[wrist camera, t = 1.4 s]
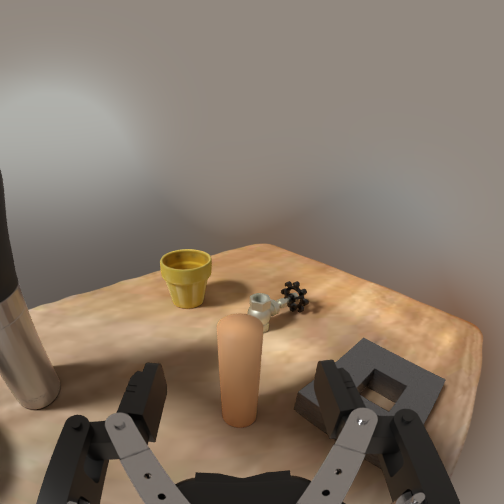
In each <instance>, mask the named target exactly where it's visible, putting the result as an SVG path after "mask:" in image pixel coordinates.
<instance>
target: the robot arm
mask: <svg viewBox="0 0 504 504" xmlns="http://www.w3.org/2000/svg"><path fill="white" fill-rule="evenodd" d="M0 375H1V376H2V378H3V380H4V381H5V383H6V384H7V386H8V387H9V389H10V390H11V392H12V393H13V395H14V396H15V398H16V399H17V400H18V402H19V403H20V404H21V405H22V406H24V407H25V408H28V409H40V408H43V407H46V406H47V405H49V404H50V403H51V402H52V401H54V399H55V398H56V397H57V395H58V393H59V390H60V380H59V377H58V375H57V374H56V372H55V370H54V368H53V366H52V364H51V362H50V360H49V358H48V356H47V354H46V351H45V349H44V347H43V345H42V343H41V341H40V338H39V336H38V334H37V331H36V329H35V326H34V324H33V322H32V319H31V316H30V314H29V311H28V308H27V306H26V303H25V300H24V297H23V294H22V291H21V288H20V285H19V282H18V278H17V275H16V271H15V266H14V260H13V255H12V250H11V245H10V240H9V234H8V228H7V219H6V210H5V198H4V186H3V179H2V174H1V170H0ZM314 391H315V395H316V398H317V401H318V404H319V407H320V410H321V413H322V416H323V420H324V423H325V426H326V429H327V432H328V435H329V438H330V439H333V438H337V441H336V443H335V444H334V445H333V447H332V448H331V450H330V452H329V454H328V455H327V457H326V459H325V461H324V462H323V464H322V466H321V467H320V469H319V470H318V472H317V474H316V475H315V477H314V478H313V480H312V481H310V480H308V479H305V478H302V477H298V476H291V475H290V470H288V471H278V472H266V473H263V474H259V475H255V476H251V477H247V478H238V477H233V476H228V475H223V474H219V473H197V472H196V475H195V478H190V479H186V480H183V481H181V482H179V483H177V484H174V483H173V481H172V480H171V479H170V477H169V476H168V475H167V473H166V472H165V470H164V469H163V467H162V466H161V465H160V463H159V462H158V460H157V459H156V457H155V456H154V454H153V453H152V451H151V450H150V448H149V447H148V446H147V445H148V441H149V442H156V437H157V433H158V428H159V424H160V420H161V416H162V411H163V407H164V403H165V399H166V395H167V384H166V380H165V377H164V373H163V369H162V365H161V364H158V363H146V364H145V367H144V369H143V372H140V371H137V372H136V373H135V374H134V375H133V376H132V377H131V378H130V381H129V383H128V386H127V388H126V392H125V393H124V395H123V398H122V400H121V403H120V405H119V408H118V410H117V413H114V414H112V415H110V416H109V417H108V418H107V419H106V421H98V422H89V421H88V419H87V418H86V417H84V416H82V415H74V416H71V417H70V418H68V419H67V420H66V422H65V424H64V427H63V429H62V432H61V434H60V436H59V439H58V441H57V444H56V447H55V449H54V452H53V454H52V457H51V460H50V463H49V465H48V468H47V471H46V474H45V477H44V480H43V483H42V486H41V490H40V493H39V496H38V500H37V503H36V504H100V500H101V495H102V490H103V485H104V480H105V476H106V471H107V467H108V463H109V460H111V459H120V462H121V464H122V466H123V467H124V469H125V471H126V473H127V475H128V477H129V478H130V480H131V482H132V483H133V485H134V487H135V489H136V490H137V492H138V493H139V495H140V497H141V498H142V500H143V501H144V503H145V504H345V503H344V502H342V501H343V499H344V498H345V496H346V494H347V492H348V490H349V488H350V486H351V484H352V482H353V480H354V478H355V476H356V474H357V472H358V470H359V468H360V466H361V464H362V461H363V459H364V457H365V454H377V455H378V458H379V461H380V464H381V467H382V470H383V473H384V476H385V479H386V482H387V485H388V489H389V492H390V495H391V498H392V501H393V503H392V504H460V502H459V499H458V497H457V494H456V492H455V490H454V487H453V485H452V483H451V481H450V478H449V476H448V474H447V472H446V469H445V467H444V465H443V463H442V461H441V459H440V457H439V455H438V453H437V451H436V449H435V447H434V444H433V442H432V440H431V438H430V437H429V435H428V433H427V431H426V429H425V427H424V425H423V423H422V421H421V419H420V417H419V415H418V414H417V413H416V412H415V411H413V410H411V409H401V410H399V411H397V412H396V413H395V415H394V416H379V415H376V413H375V412H374V411H372V410H371V409H368V408H366V406H365V404H364V402H363V400H362V398H361V396H360V394H359V392H358V390H357V388H356V386H355V384H354V382H353V379H352V377H351V375H350V373H348V372H347V371H346V370H345V369H344V368H337V367H336V364H335V362H334V360H324V361H319V362H318V364H317V369H316V374H315V379H314Z"/></svg>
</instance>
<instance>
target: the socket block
mask: <svg viewBox="0 0 504 504" xmlns="http://www.w3.org/2000/svg"><path fill="white" fill-rule="evenodd" d="M335 364H336V367H337V368H344V369H345V370H346V371H347V372H348V373H350V375H351V377H352V379H353V382H354V384H355V386H356V388H357V390H358V392H359V394H360V393H361V392H362V391H363V390H364V389H365V388H366V386H367V387H369V388H370V389H372V390H374V391H375V392H377V393H379V394H381V395H382V396H384V397H386V398H388V399H390V400H391V401H393V402H395V405H394V406H393V407H392V409H391V410H390V412H388V411H386V410H385V409H383V408H381V407H379V406H378V405H376V404H374V403H373V402H371V401H369V400H367V399H366V398H364V397H362V396H361V395H360V396H361V398H362V400H363V402H364V404H365V406H366V408H368V409H371V410H372V411H374V412H375V413H376V415H379V416H394V415H395V413H396V412H397V411H399V410H401V409H411V410H413V411H415V412H416V413H417V414H418V415H419V417H420V419H421V421H422V423H423V424H424V423H425V421H426V419H427V417H428V415H429V413H430V411H431V410H432V408H433V406H434V404H435V402H436V400H437V398H438V395H439V393H440V391H441V389H442V387H443V385H444V382H445V379H443V378H441V377H439V376H437V375H435V374H433V373H431V372H429V371H427V370H425V369H423V368H421V367H419V366H417V365H415V364H413V363H411V362H409V361H407V360H405V359H404V358H402V357H400V356H398V355H396V354H394V353H392V352H390V351H388V350H386V349H384V348H382V347H380V346H378V345H376V344H375V343H373V342H371V341H369V340H367V339H365V338H363V339H362V340H360V341H359V342H358V343H357V344H356V345H355V346H354V347H353V348H352V349H350V350H349V351H348V352H347V353H346V354H345V355H344V356H342V357H341V358H340V359H339V360H338V361H337V362H335ZM294 410H295V411H296V412H298V413H299V414H300V415H302V416H303V417H304V418H306V419H307V420H308V421H310V422H311V423H312V424H314V425H315V426H317V427H318V428H319V429H321V430H322V431H324V432H325V433H326V434H328V432H327V429H326V426H325V423H324V420H323V416H322V413H321V410H320V407H319V404H318V401H317V398H316V395H315V391H314V380H313V381H312V382H311V383H309V384H308V385H307V386H305V387H304V388H303V389H301V390H300V391H299V392H298V395H297V399H296V403H295V407H294ZM334 439H335V440H337V438H334ZM364 459H366V460H367V461H369V462H371V463H372V464H374V465H376V466H377V467H379V468H381V469H382V467H381V464H380V461H379V458H378V455H377V454H365V457H364Z"/></svg>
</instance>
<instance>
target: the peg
mask: <svg viewBox="0 0 504 504" xmlns="http://www.w3.org/2000/svg"><path fill="white" fill-rule="evenodd" d="M217 340H218V359H219V375H220V390H221V403H222V416H223V419H224V421H225V422H226V423H227V424H229V425H230V426H233V427H237V428H242V427H247V426H249V425H251V424H252V423H253V422H254V421H255V419H256V415H257V403H258V392H259V380H260V367H261V354H262V341H263V324H262V322H261V321H260V320H259V319H258V318H256V317H254V316H251V315H248V314H231V315H228V316H225V317H224V318H222V319H221V320H220V321H219V322H218V324H217Z"/></svg>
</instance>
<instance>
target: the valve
mask: <svg viewBox="0 0 504 504" xmlns="http://www.w3.org/2000/svg"><path fill="white" fill-rule="evenodd" d="M292 285H294V286H292ZM285 286H287V287H288V288H287V289H286V288H285V289H283V290H281V293H282V294H284V295H285V297H284V298H281V299H278V300H276V301H275V300H271V299H270V297H269V296H268V295H266V294H263V293H256V294H253V295H251V296H250V307H249V309H248V315H251V316H254V317H256V318H258V319H259V320H260V321H261V322H262V324H263V333H264V332H266V331H268V330H269V320H270V318H271V316H275V315H277V314H278V313H279V311H280V309H282V308H284V307H286V306H288V307H289V308H290V311H292V312H293V311H295V310H296V309H297V308H298V309H299V310H298V312H302V311H304V307H303V306H306V305H307V304H308V303H309V301H308V300H307V299H304V295H305V294H306V293H307V291H306V289H302V290H300V289H299V286H300V284H299V282H298V281H296V282H294V283H293V284H292V283H291V282H290V281H289V282H286V283H285ZM291 289H294V290H296V291H297V292H298V294H299V296H298V295H297V293H290V290H291ZM289 293H290V294H289ZM298 299H300V303H299V304H295V303H294V302H296V301H297V300H298ZM302 305H303V306H302Z"/></svg>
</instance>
